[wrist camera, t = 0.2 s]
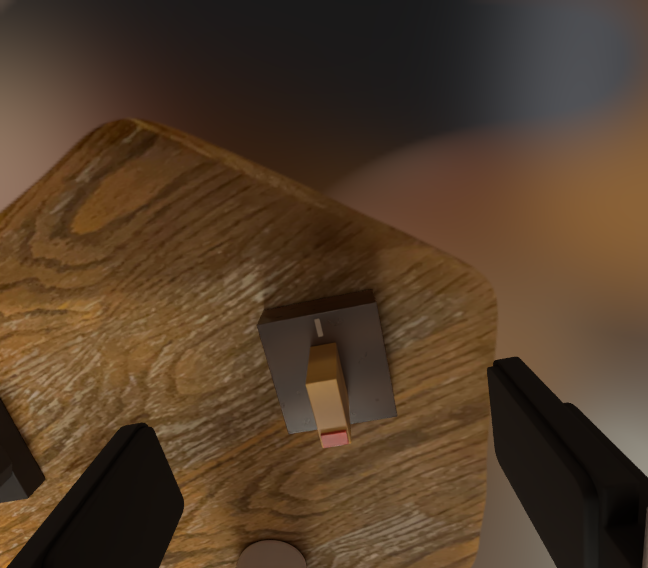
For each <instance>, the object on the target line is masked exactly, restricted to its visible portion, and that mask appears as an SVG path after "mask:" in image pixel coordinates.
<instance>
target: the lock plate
mask: <svg viewBox="0 0 648 568" xmlns="http://www.w3.org/2000/svg"><path fill="white" fill-rule="evenodd" d="M257 328H258V331H259V335H260V338H261V341H262V345H263V348H264V352H265V355H266V358H267V362H268V365H269V369H270V372H271V375H272V379H273V382H274V386H275V389H276V392H277V396H278V399H279V403H280V406H281V410H282V413H283V416H284V420H285V423H286V427H287V430H288V433H289V434H293V433H299V432H305V431H311V430H317V426H316V422H315V419H314V415H313V411H312V407H311V403H310V400H309V396H308V392H307V388H306V377H307V369H308V360H309V352H310V347H313V346H319V345H324V344H329V343H336V345H337V349H338V354H339V358H340V363H341V367H342V371H343V376H344V380H345V385H346V389H347V393H348V398H349V412H350V424H354V423H360V422H366V421H372V420H378V419H385V418H391V417H397V411H396V406H395V400H394V395H393V389H392V384H391V378H390V373H389V367H388V362H387V357H386V351H385V346H384V340H383V335H382V329H381V324H380V318H379V313H378V307H377V302H376V299H375V296H374V293H373V290H372V289H370V290H365V291H360V292H355V293H349V294H344V295H339V296H334V297H329V298H324V299H319V300H313V301H308V302H303V303H298V304H293V305H288V306H283V307H277V308H272V309H267V310H264V311H263V313H262V315H261V317H260V319H259V321H258V324H257Z"/></svg>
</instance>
